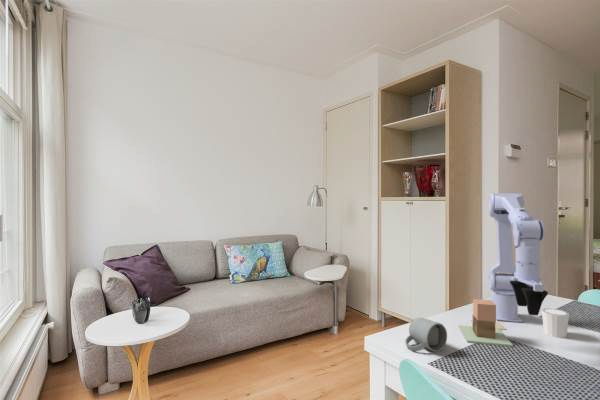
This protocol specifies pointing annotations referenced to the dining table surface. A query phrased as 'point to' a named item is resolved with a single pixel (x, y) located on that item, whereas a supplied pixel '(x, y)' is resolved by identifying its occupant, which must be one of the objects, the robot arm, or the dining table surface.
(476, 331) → the walnut block
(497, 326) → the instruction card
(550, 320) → the white cup
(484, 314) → the terracotta block
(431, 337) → the ceramic mug
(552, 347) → the dining table surface
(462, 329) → the plate
